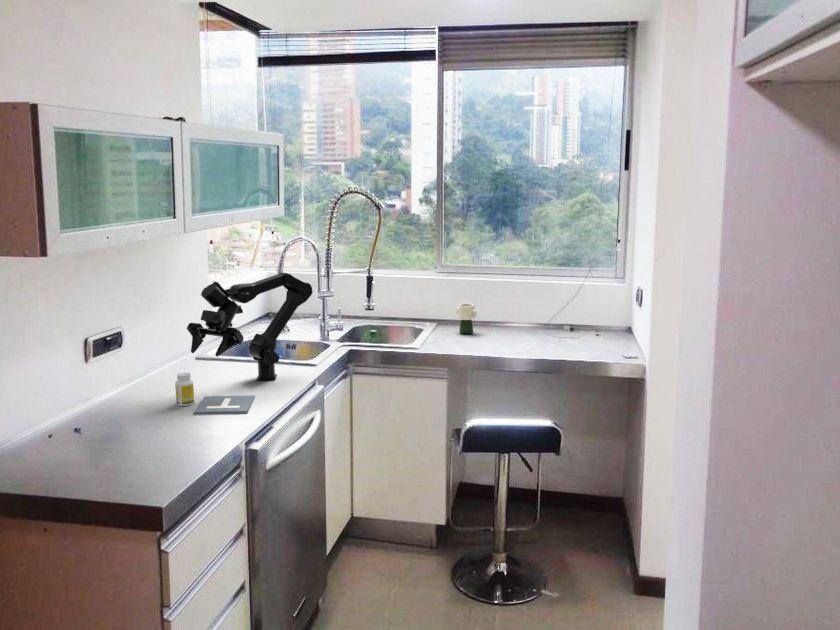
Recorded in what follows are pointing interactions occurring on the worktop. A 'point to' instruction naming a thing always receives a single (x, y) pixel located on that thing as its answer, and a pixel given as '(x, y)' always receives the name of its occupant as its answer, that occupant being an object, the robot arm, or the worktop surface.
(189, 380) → the supplement bottle
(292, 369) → the worktop surface
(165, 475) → the worktop surface
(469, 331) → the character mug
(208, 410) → the letter board
